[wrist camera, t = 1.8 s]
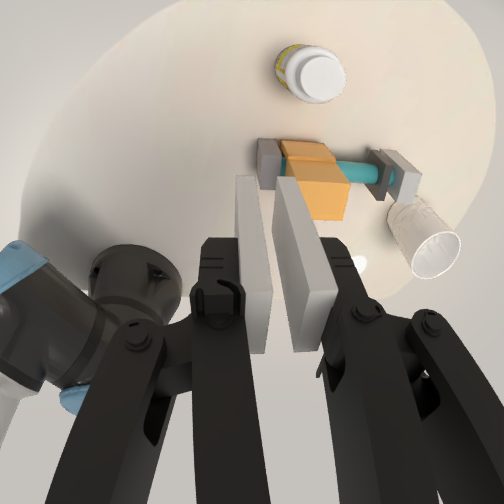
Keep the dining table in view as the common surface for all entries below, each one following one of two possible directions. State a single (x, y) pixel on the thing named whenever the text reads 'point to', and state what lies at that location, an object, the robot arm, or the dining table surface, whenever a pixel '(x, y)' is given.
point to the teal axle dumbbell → (350, 172)
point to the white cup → (423, 238)
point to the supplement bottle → (311, 73)
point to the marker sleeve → (317, 178)
